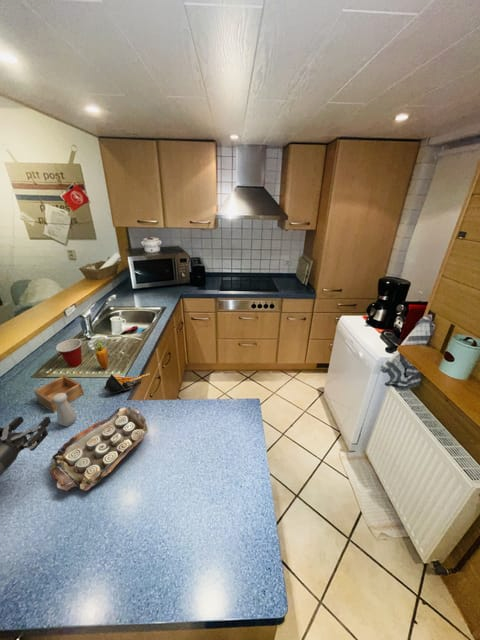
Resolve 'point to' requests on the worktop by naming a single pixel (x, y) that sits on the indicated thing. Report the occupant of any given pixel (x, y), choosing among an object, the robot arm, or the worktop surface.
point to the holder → (58, 391)
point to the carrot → (102, 356)
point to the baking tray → (97, 449)
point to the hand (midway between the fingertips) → (35, 418)
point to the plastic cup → (71, 351)
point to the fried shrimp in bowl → (121, 383)
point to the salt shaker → (64, 410)
